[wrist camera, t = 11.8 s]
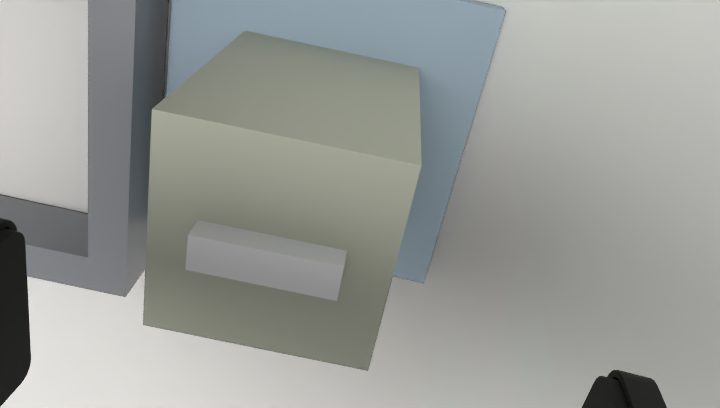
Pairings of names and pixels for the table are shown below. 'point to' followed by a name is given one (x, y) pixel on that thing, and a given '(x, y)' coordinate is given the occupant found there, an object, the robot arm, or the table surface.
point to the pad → (381, 41)
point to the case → (106, 157)
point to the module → (281, 198)
